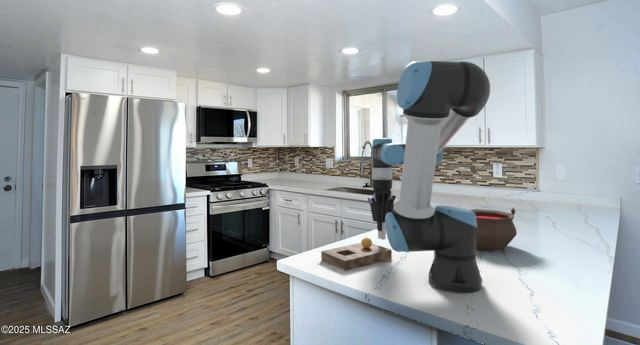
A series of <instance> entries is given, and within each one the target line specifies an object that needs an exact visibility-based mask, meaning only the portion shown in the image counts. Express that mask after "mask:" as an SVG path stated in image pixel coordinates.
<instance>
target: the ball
mask: <svg viewBox="0 0 640 345" xmlns="http://www.w3.org/2000/svg"><path fill="white" fill-rule="evenodd" d="M360 243H361V244H362V246H363V247H364V248H370V247H371V245H372V244H373V241H372V239H371V238H370V237H364V238H362V240H361V242H360Z"/></svg>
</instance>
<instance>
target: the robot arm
mask: <svg viewBox="0 0 640 345" xmlns="http://www.w3.org/2000/svg"><path fill="white" fill-rule="evenodd" d="M400 74H401V75H400V77H399V80H398V85H397V89H396V90H397V91H396V97H397V99H396V104H397V106H398V107H399V108H400V109H403V110H402V115H403V116H404V117H405V118H406V120H407V127H406V137H405V138H406V139H405V142H402V143H401V142H400V143H399V142H398V143H396V142H393V139H392V138H389V137H388V138H387V137H386V138H385V137H384V138H381V137H380V138H374V139H372V144H371V145H372V146H371V149H372V150H371V151H372V152H371V153H372V154H371V155H372V156H371V157H372V159H371V160H372V162H371V163H372V165H371V166H372V170H371V171H372V180H371V182H372V183H371V184H372V189H373V192H372V196H371V197H369V196H368V197H367V201H368V202H369V206H370V211H371V217H372V218H371V219H372V221H373V222H376V227H377V228H376V229H377V238H378V240H383V241H384V240H386V238H387V241H388V244H389V245H390V247H391V250H393V251H395V252H399V253H400V252H401V253H410V252H413V253H414V252H431V251H432V252H434V251H435V257H434V256H433V260H432V264H431V265H430V269H429V271H428V283H429V284H430V285H431V286H433V287H434V288H437V289H439V290H442V291H447V292H452V293H463V294H464V293H466V294H467V293H475V292H478V291H479V290H481V289H482V288H483V282H482V281H483V279H482V275H481V273H480V272H481V271H480V269H479V265H478V263H477V249H476V229H477V220H476V215H475V213H474V212H472V211H470V210H471V209H468V208H467V209H466V208H463V207H456V206H450V205H441V204H440V205H436V206H435V207H433V206H432V205H431V200H432V192H433V186H434V178H435V171H436V164H439V163H441V162H442V160H443V159H442V158H443V157H444V147H446V145H447V144H448V143H449V142H450V141H451V139H453V137H455V135H456V134H457V133H458V132H459V131H460V129H461V128H462V127H463V126H464V125H465V124H466V122H467V121H468V120H470V119H471V118H473V117H476V116H477V115H479V113H481V111H482V110H483V109H484V108H485V106H486V105H487V103H488V100H489V98H490V94H491V82H490V79H489V77H488V75H487V73H486V72H485V70H484V69H482V67H480V65H477V64H476V63H473V62H471V61H446V60H445V61H442V60H440V61H439V60H437V61H436V60H420V61H418V60H417V61H412V62H410V63H408V64H407V65H406V66H405V67H404V69H403V71H402V73H400ZM397 165H402V172H401V173H402V175H401V182H400V183H401V184H400V192H399V199H398V201H395V200H396V197H397V196H396V195H395V194H392V191H391V189H392V188H393V180H392V178H393V166H397Z"/></svg>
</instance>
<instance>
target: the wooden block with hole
mask: <svg viewBox="0 0 640 345" xmlns="http://www.w3.org/2000/svg"><path fill="white" fill-rule="evenodd" d="M392 250H393V249H392V248H387V247H385V246H382V245H381V246H380V245H378V244H375V243H372V245H371V247H370V248H364V247H363V246H362V244H361V242H359V243H358V242H357V243H354V244H349V245H348V244H347V245H344V246H339V247H335V248H330V249H325V250H321V252H320V253H321V256H320V258H321V260H320V261H322V262H324V263H327V264H328V265H329V266H330V265H331V266H333V267H335V268H338V269H340V270H343V271H344V272H346V271H351V270H355V269H358V268H362V267H363V268H364V267H366V266H370V265H373V264H377V263H382V262H385V261H388V260H392V259H393V258H392V253H393V252H392Z"/></svg>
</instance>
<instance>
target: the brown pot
mask: <svg viewBox="0 0 640 345" xmlns="http://www.w3.org/2000/svg"><path fill="white" fill-rule="evenodd" d="M469 210H470V211H472V212H474V213H475V215H476V220H477V229H476V251H477V250H478V251H484V252H485V251H486V252H497V251H498V252H499V251H504V250H505V249H506V248H507V246H508V245H509V244H510V243H512V241H513V239H514V238H515V237H516V236H517V228H516V226H515V223H514V219H515V213H516V209H515V207H512V208H511V210H510V212H506V211H502V210H497V209H496V210H495V209H494V210H493V209H480V208H479V209H478V208H476V209H469Z"/></svg>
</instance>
